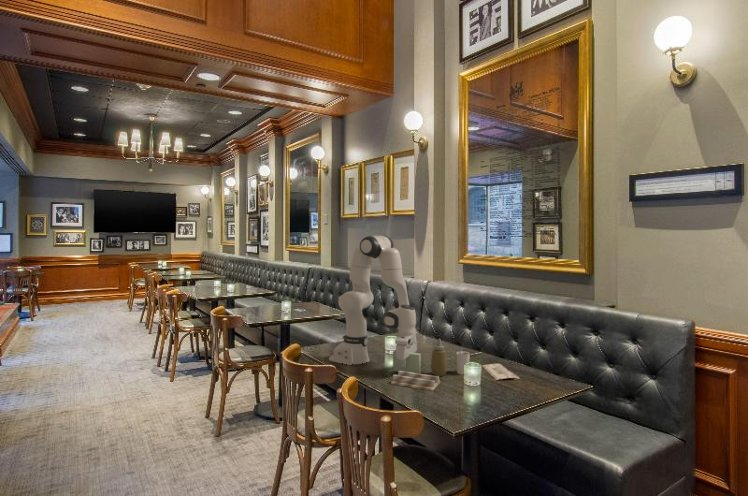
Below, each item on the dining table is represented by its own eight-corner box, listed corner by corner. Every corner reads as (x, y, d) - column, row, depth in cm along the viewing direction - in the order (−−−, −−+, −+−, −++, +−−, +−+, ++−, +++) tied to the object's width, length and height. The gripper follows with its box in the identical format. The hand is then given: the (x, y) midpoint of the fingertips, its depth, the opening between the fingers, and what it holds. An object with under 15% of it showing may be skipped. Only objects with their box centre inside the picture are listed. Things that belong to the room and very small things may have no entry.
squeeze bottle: (449, 373, 221) (449, 338, 221) (443, 378, 214) (443, 341, 214) (434, 371, 225) (434, 336, 225) (428, 375, 218) (428, 339, 218)
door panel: (392, 371, 226) (393, 351, 225) (395, 369, 228) (395, 350, 228) (418, 374, 220) (419, 354, 219) (420, 373, 222) (421, 353, 222)
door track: (391, 384, 206) (391, 376, 206) (400, 376, 217) (400, 369, 217) (432, 390, 197) (432, 383, 197) (440, 382, 208) (440, 375, 208)
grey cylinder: (463, 375, 218) (463, 355, 218) (453, 372, 224) (453, 352, 223) (472, 373, 222) (472, 353, 222) (462, 369, 227) (462, 350, 227)
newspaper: (521, 381, 212) (521, 376, 212) (496, 384, 211) (496, 379, 211) (504, 366, 235) (503, 361, 235) (481, 369, 234) (481, 364, 234)
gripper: (408, 332, 234) (408, 358, 235) (393, 341, 216) (393, 369, 216) (419, 333, 231) (419, 359, 232) (405, 342, 213) (405, 370, 213)
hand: (407, 364), depth 224 cm, fingers open, 7 cm apart
